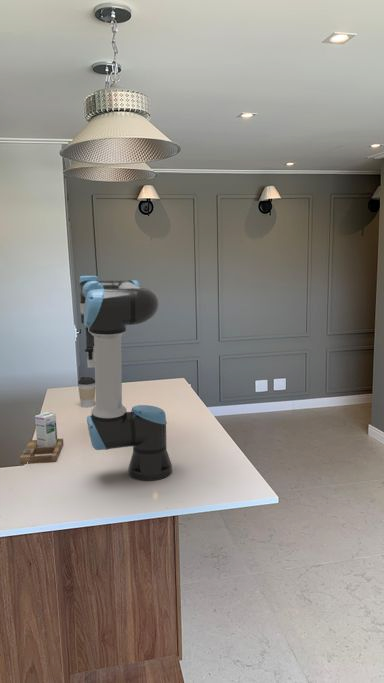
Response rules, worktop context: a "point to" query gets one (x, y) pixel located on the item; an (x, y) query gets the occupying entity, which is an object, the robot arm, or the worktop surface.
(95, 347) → the robot arm
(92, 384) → the coffee cup
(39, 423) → the syrup box
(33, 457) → the socket board
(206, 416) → the worktop surface
